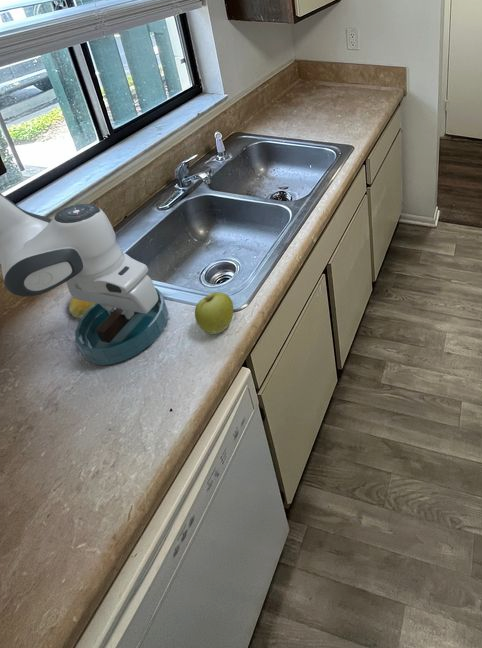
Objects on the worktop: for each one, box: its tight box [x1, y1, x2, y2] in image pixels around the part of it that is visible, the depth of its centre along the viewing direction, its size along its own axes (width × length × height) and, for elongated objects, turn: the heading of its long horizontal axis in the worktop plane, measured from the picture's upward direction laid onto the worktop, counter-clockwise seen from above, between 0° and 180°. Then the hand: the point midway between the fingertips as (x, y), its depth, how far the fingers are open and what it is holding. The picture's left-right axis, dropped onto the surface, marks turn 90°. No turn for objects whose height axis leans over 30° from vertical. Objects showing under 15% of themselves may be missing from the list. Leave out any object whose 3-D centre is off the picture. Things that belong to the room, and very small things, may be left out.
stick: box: [96, 308, 137, 343], centre depth 99 cm, size 11×2×4 cm, turn 167°
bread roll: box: [68, 296, 96, 320], centre depth 107 cm, size 8×9×4 cm
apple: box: [194, 291, 234, 335], centre depth 100 cm, size 8×8×10 cm
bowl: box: [74, 287, 169, 366], centre depth 100 cm, size 17×17×5 cm
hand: (122, 315), depth 99 cm, fingers closed on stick, 2 cm apart
